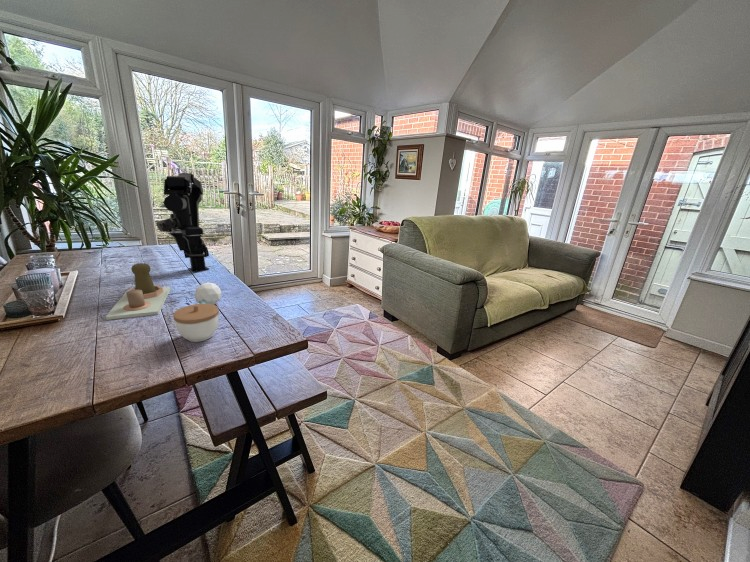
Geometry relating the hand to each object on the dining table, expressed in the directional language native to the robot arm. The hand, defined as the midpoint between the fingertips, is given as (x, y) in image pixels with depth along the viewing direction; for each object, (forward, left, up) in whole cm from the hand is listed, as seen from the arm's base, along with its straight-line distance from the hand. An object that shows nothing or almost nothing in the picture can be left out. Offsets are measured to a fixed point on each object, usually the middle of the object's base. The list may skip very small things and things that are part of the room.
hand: (186, 251), depth 118 cm
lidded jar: (+46, -16, -13) cm, 50 cm away
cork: (+5, -17, -12) cm, 21 cm away
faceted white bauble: (+28, -6, -13) cm, 31 cm away
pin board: (+10, -19, -13) cm, 25 cm away
